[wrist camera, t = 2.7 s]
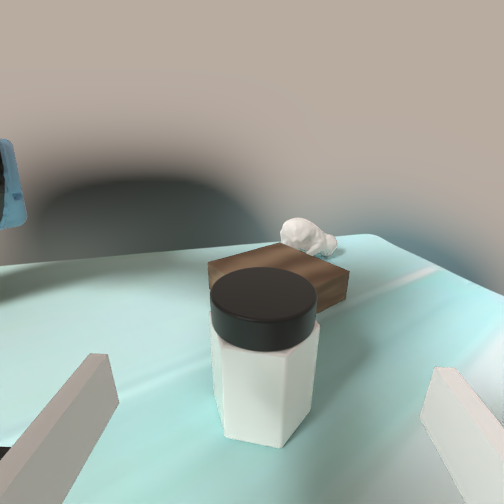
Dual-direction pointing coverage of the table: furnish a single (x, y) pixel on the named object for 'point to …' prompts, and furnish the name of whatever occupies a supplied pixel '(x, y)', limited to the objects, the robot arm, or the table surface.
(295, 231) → the white animal figurine
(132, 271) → the table surface
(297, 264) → the walnut block
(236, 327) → the jar
